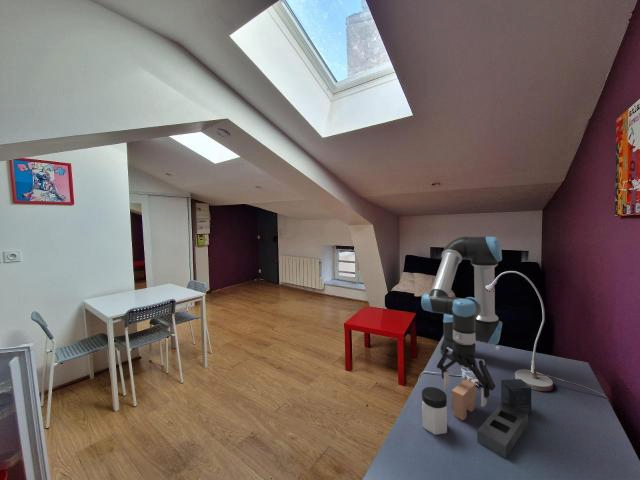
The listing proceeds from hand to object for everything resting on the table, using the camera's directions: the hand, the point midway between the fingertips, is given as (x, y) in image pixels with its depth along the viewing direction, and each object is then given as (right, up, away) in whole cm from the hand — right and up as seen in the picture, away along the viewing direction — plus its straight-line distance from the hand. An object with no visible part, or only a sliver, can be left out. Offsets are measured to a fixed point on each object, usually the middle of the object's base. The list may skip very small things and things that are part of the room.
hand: (464, 395), depth 101 cm
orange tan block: (0, -7, +1) cm, 7 cm away
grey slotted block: (+8, -7, -10) cm, 15 cm away
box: (+20, -6, +1) cm, 21 cm away
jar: (-14, -8, -6) cm, 17 cm away
